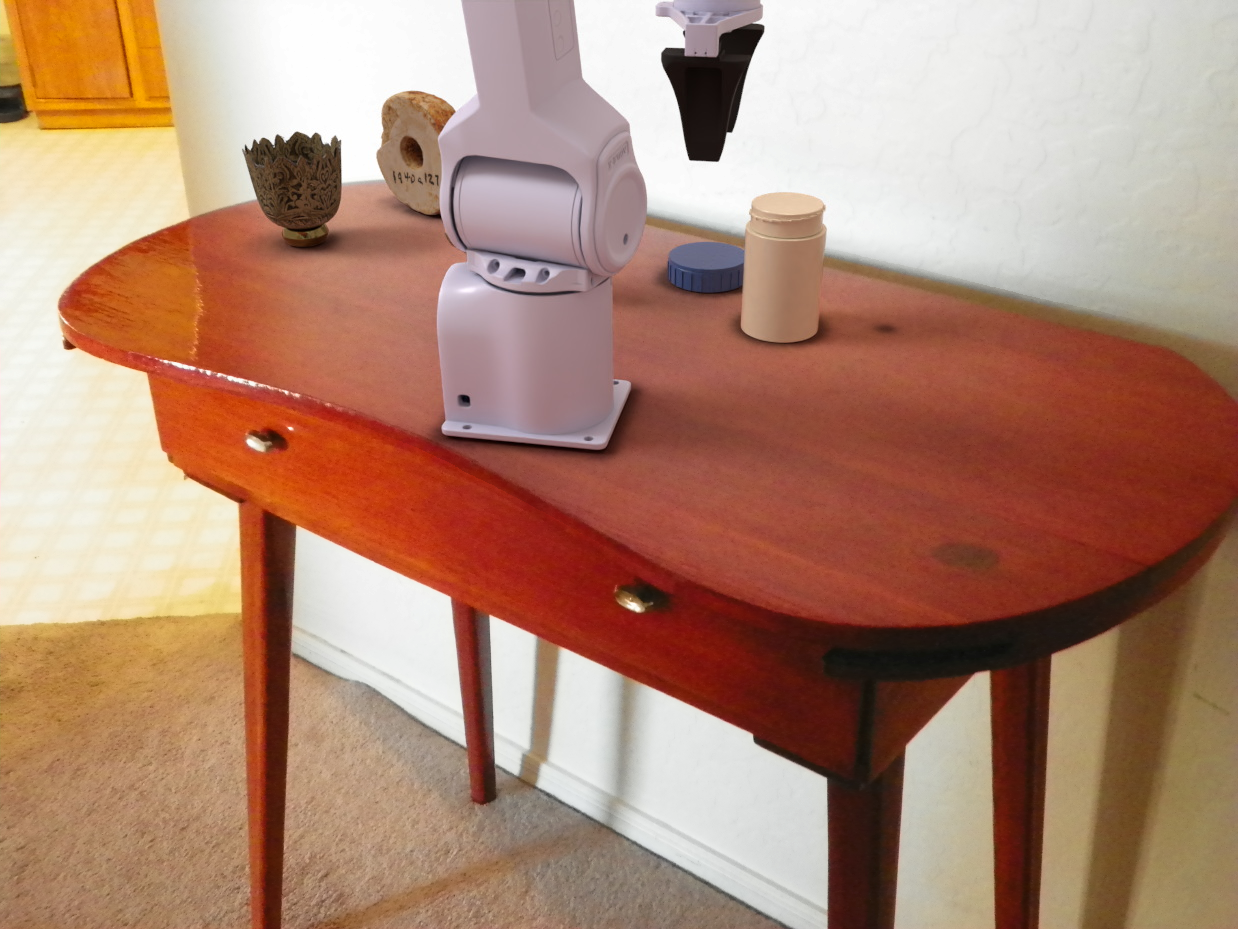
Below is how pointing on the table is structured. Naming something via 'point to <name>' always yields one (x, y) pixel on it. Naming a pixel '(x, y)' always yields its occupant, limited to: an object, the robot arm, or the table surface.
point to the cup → (297, 184)
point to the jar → (783, 267)
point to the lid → (706, 267)
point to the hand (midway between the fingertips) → (711, 144)
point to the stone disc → (413, 148)
